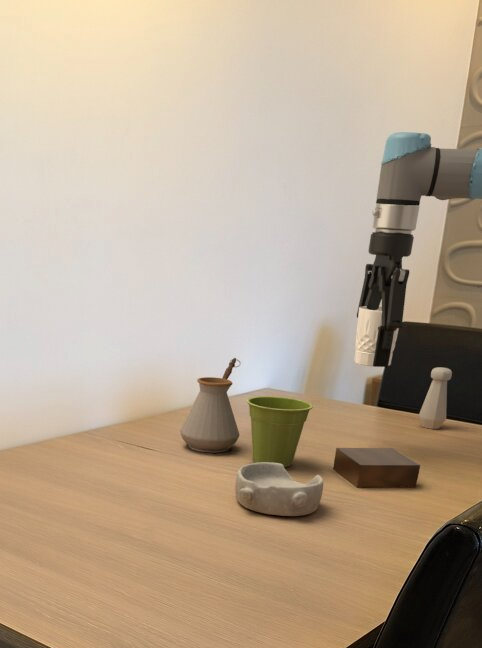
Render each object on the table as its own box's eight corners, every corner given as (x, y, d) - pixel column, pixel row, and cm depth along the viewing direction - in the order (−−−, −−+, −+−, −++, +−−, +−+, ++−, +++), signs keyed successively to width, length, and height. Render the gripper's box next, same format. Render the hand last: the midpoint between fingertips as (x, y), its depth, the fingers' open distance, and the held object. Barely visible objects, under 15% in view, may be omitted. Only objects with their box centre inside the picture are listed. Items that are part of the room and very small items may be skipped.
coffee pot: (229, 458, 154) (237, 377, 147) (171, 450, 157) (176, 369, 151) (255, 434, 172) (263, 360, 166) (202, 426, 175) (208, 354, 169)
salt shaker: (412, 425, 187) (423, 366, 181) (425, 422, 191) (437, 364, 185) (435, 431, 183) (447, 371, 178) (448, 428, 187) (461, 369, 181)
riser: (388, 468, 154) (392, 447, 152) (416, 487, 144) (420, 465, 142) (332, 469, 152) (336, 447, 150) (356, 487, 142) (360, 465, 140)
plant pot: (318, 468, 151) (327, 407, 146) (267, 476, 145) (275, 412, 140) (276, 452, 160) (283, 393, 155) (227, 458, 154) (233, 397, 149)
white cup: (386, 369, 153) (396, 312, 149) (345, 363, 157) (353, 308, 152) (398, 363, 159) (407, 309, 155) (358, 358, 163) (366, 305, 158)
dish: (250, 485, 140) (254, 456, 138) (330, 501, 134) (335, 471, 132) (217, 508, 128) (220, 477, 126) (303, 527, 122) (307, 494, 120)
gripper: (351, 228, 156) (333, 353, 166) (398, 232, 138) (374, 372, 148) (388, 230, 158) (368, 354, 167) (439, 235, 139) (413, 373, 149)
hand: (371, 362), depth 158 cm, fingers closed on white cup, 8 cm apart
